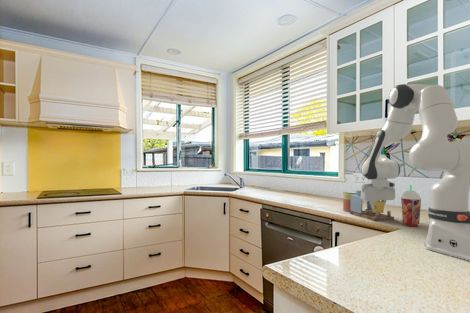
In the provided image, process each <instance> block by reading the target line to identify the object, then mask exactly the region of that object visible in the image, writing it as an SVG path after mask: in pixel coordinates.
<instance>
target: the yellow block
mask: <svg viewBox="0 0 470 313" xmlns="http://www.w3.org/2000/svg"><path fill="white" fill-rule="evenodd" d="M374 205H375V206H376V209H372V212H375V213H376V212H379V213H381V214H384V209H385V205H384V202H382V201H381V200H380V201H375V202H374Z"/></svg>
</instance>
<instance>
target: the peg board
mask: <svg viewBox="0 0 470 313" xmlns="http://www.w3.org/2000/svg"><path fill="white" fill-rule="evenodd" d="M386 212H387V214H384V213H379V212H376V213H375V212H372V211H369V209H367V208H365V210H362V214H361V213H357V212H353V211H350V212H349V213H350V215H353V216H356V217H360V218H364V219H366V218H367V220H369V221H370V220H371V221H373V222H375V221H376V222H377V221H378V222H379V221H391V220H392V221H395V216H392V212H391V210H387V211H386Z"/></svg>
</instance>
